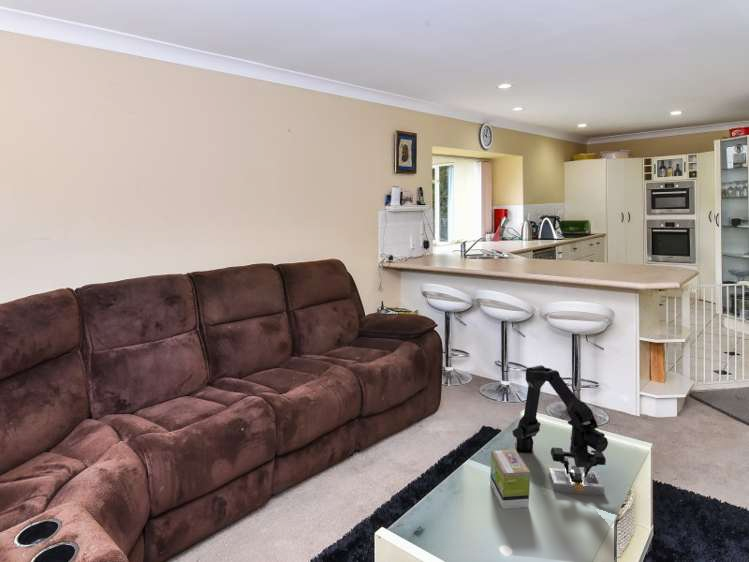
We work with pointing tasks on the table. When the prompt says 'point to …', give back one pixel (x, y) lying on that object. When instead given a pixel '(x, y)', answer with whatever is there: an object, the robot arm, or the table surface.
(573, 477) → the panel
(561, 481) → the rack
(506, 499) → the tea box
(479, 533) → the table surface
